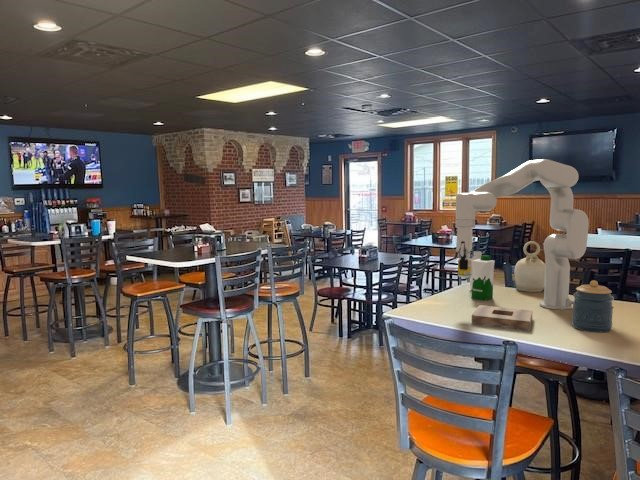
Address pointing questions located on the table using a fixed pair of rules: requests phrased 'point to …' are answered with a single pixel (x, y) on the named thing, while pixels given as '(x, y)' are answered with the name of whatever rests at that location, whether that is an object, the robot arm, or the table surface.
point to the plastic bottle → (476, 256)
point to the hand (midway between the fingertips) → (464, 267)
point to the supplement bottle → (469, 271)
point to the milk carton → (482, 278)
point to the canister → (592, 308)
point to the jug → (530, 271)
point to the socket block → (502, 317)
